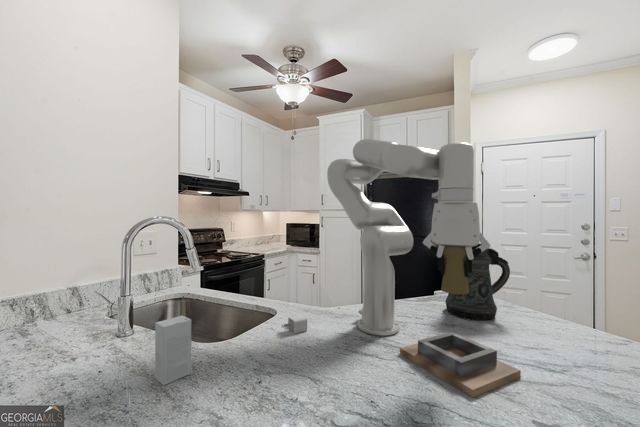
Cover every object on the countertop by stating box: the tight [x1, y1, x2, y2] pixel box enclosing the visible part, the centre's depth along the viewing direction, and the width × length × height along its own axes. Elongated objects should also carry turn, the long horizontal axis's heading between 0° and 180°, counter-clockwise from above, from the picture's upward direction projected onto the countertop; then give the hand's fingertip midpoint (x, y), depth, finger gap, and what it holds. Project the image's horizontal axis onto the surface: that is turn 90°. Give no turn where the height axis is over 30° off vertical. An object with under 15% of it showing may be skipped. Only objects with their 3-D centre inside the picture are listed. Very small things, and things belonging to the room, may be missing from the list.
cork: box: [440, 246, 469, 294], centre depth 70 cm, size 6×6×11 cm
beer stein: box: [445, 243, 511, 322], centre depth 107 cm, size 16×19×25 cm
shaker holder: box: [399, 331, 522, 398], centre depth 70 cm, size 20×16×4 cm
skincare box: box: [154, 315, 192, 386], centre depth 64 cm, size 6×4×12 cm
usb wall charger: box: [281, 314, 308, 335], centre depth 88 cm, size 4×7×4 cm, turn 122°
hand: (454, 274), depth 70 cm, fingers closed on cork, 4 cm apart
